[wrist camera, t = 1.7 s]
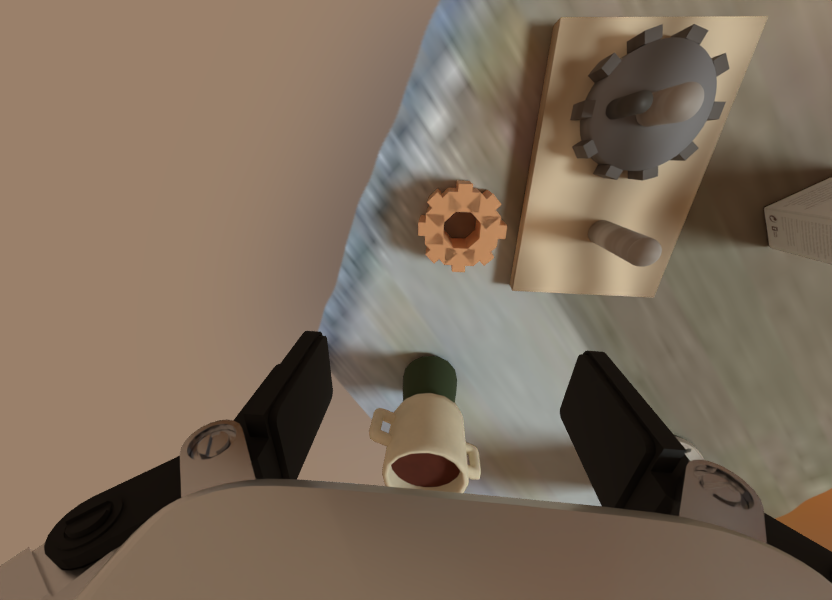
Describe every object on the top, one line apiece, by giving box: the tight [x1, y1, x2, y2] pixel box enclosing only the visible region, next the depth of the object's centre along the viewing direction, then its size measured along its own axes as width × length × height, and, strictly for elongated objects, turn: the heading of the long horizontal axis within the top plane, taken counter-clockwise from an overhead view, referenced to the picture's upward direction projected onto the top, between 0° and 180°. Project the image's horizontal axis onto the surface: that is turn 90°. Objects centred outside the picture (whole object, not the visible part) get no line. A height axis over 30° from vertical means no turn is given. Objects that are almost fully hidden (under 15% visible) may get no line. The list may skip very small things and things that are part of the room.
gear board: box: [509, 16, 768, 297], centre depth 21 cm, size 13×20×8 cm, turn 179°
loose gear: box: [418, 181, 507, 272], centre depth 26 cm, size 7×7×4 cm
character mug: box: [369, 356, 481, 493], centre depth 30 cm, size 11×7×13 cm, turn 65°
